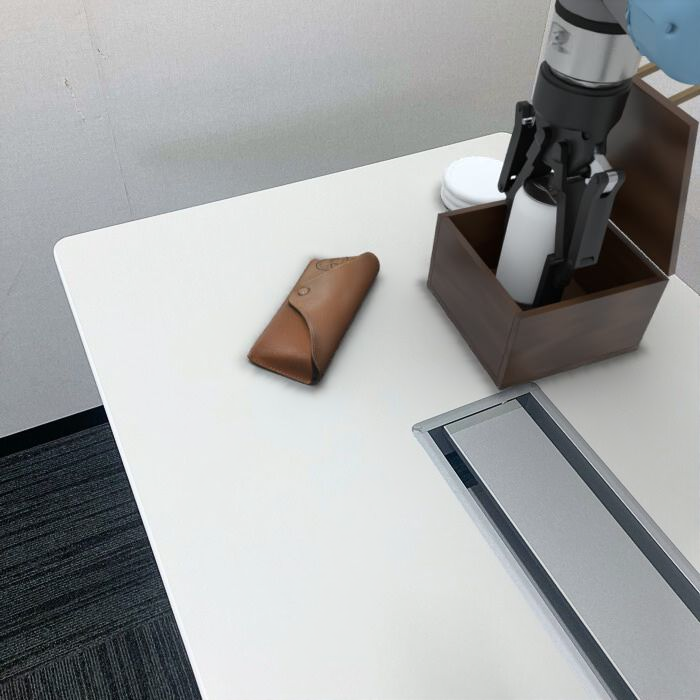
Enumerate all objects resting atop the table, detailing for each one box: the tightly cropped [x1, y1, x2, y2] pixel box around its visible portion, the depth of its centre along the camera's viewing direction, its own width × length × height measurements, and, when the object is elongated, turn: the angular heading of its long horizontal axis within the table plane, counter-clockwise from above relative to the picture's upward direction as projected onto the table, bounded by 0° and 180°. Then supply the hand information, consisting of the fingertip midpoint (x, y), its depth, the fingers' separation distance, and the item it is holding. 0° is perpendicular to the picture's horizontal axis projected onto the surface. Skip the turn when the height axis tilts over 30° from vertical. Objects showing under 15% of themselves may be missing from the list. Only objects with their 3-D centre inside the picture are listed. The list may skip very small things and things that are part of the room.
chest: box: [426, 199, 670, 391], centre depth 78 cm, size 17×17×10 cm
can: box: [496, 171, 571, 305], centre depth 74 cm, size 6×6×12 cm
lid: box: [571, 61, 700, 278], centre depth 70 cm, size 18×17×10 cm
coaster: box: [440, 155, 516, 211], centre depth 95 cm, size 10×10×4 cm
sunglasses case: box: [246, 251, 381, 386], centre depth 79 cm, size 18×7×7 cm
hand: (527, 282), depth 78 cm, fingers closed on can, 6 cm apart
